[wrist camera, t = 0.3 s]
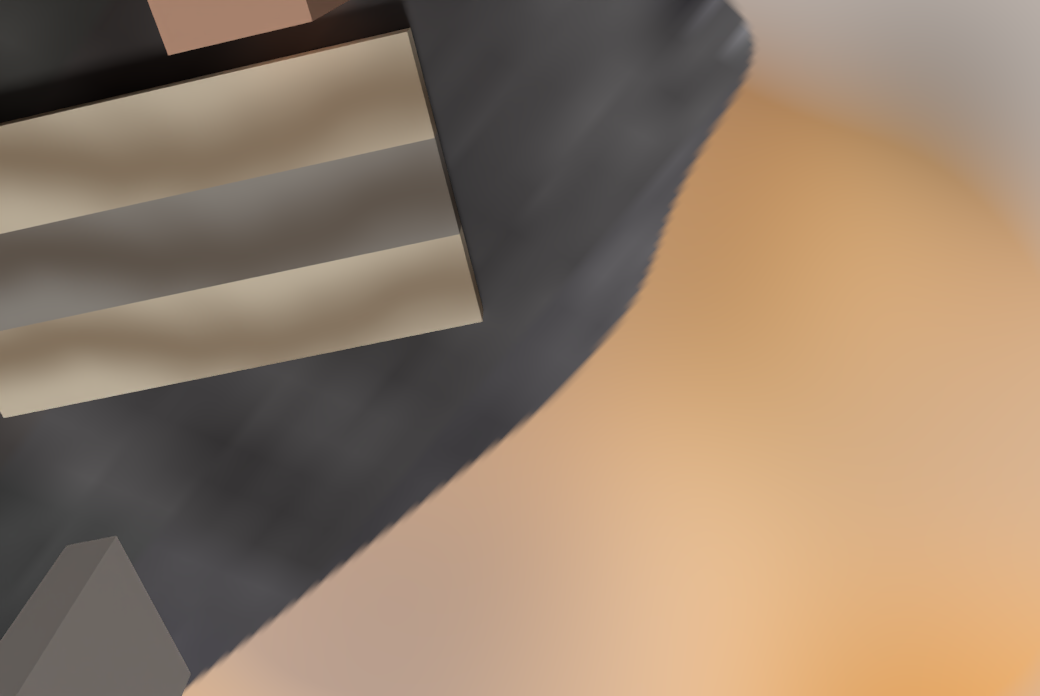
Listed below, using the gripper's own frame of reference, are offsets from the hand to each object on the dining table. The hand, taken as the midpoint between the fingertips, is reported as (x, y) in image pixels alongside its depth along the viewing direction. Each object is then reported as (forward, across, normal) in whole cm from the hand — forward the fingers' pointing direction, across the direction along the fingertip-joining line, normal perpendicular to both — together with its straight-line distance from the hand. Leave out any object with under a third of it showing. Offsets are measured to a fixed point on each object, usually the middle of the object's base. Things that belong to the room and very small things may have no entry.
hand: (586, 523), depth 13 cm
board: (+26, -15, -1) cm, 30 cm away
